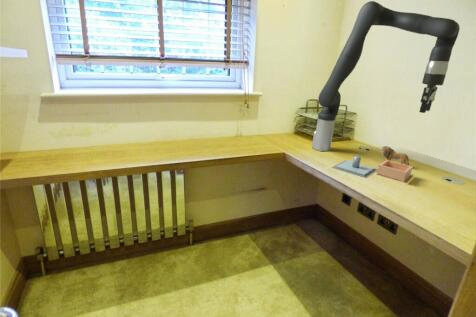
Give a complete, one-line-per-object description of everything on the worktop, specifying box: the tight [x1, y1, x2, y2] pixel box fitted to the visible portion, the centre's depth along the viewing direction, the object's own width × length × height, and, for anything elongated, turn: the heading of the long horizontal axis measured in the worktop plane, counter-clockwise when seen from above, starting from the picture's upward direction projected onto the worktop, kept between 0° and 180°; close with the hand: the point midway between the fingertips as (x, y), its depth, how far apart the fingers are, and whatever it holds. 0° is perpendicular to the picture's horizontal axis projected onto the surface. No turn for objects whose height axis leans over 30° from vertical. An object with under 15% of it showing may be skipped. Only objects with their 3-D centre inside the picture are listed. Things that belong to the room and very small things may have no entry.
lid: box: [336, 155, 376, 176], centre depth 132 cm, size 13×13×6 cm
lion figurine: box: [380, 145, 411, 166], centre depth 142 cm, size 15×5×9 cm, turn 66°
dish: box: [376, 159, 414, 183], centre depth 127 cm, size 11×11×5 cm
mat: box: [331, 160, 378, 179], centre depth 133 cm, size 16×16×1 cm
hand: (424, 111), depth 124 cm, fingers open, 8 cm apart
